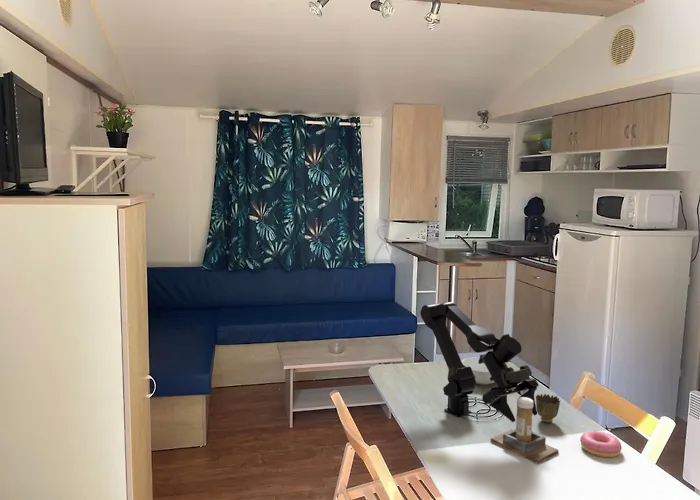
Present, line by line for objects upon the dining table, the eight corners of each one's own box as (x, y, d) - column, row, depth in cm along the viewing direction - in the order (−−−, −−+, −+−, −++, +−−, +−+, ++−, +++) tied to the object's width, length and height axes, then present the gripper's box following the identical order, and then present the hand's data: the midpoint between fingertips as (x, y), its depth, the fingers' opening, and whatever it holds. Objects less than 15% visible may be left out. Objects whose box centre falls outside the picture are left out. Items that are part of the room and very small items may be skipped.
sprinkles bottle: (533, 447, 155) (536, 402, 153) (518, 447, 154) (520, 402, 153) (527, 439, 159) (529, 396, 158) (512, 440, 159) (514, 396, 157)
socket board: (490, 441, 160) (491, 430, 160) (511, 432, 166) (511, 421, 166) (537, 463, 148) (538, 451, 147) (558, 453, 154) (559, 441, 153)
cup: (560, 427, 170) (562, 403, 169) (536, 425, 172) (537, 401, 171) (556, 417, 177) (558, 394, 176) (533, 415, 179) (534, 392, 178)
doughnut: (629, 458, 152) (631, 444, 151) (594, 461, 150) (595, 447, 149) (605, 440, 162) (606, 427, 162) (572, 442, 161) (572, 429, 160)
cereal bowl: (452, 382, 208) (453, 365, 207) (469, 370, 222) (470, 354, 221) (495, 392, 198) (496, 374, 198) (510, 379, 212) (511, 362, 211)
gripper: (491, 362, 154) (519, 413, 146) (535, 352, 163) (564, 400, 155) (470, 379, 161) (496, 429, 153) (513, 369, 171) (540, 415, 163)
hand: (525, 418), depth 156 cm, fingers open, 9 cm apart
